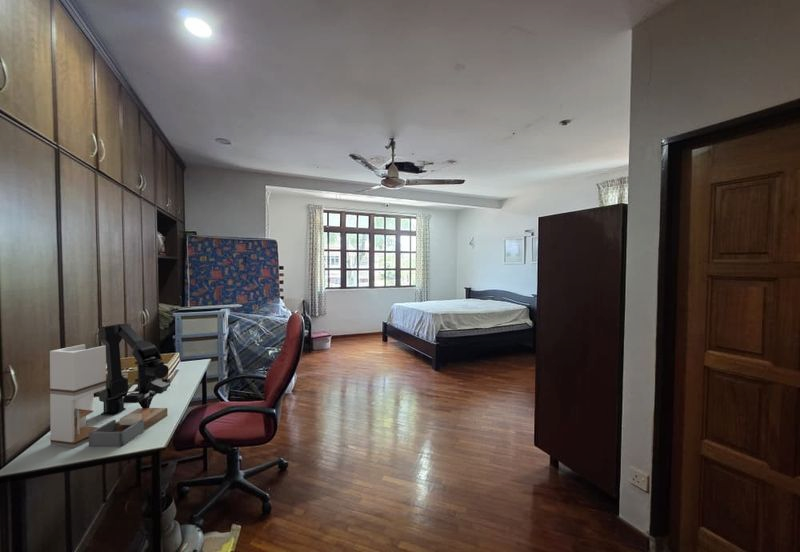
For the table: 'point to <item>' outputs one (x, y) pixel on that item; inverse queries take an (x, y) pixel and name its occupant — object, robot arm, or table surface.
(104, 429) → the charcoal tray
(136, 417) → the cream tile
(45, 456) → the table surface
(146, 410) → the terracotta tile
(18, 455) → the table surface
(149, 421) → the wooden board
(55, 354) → the white dispenser tower
